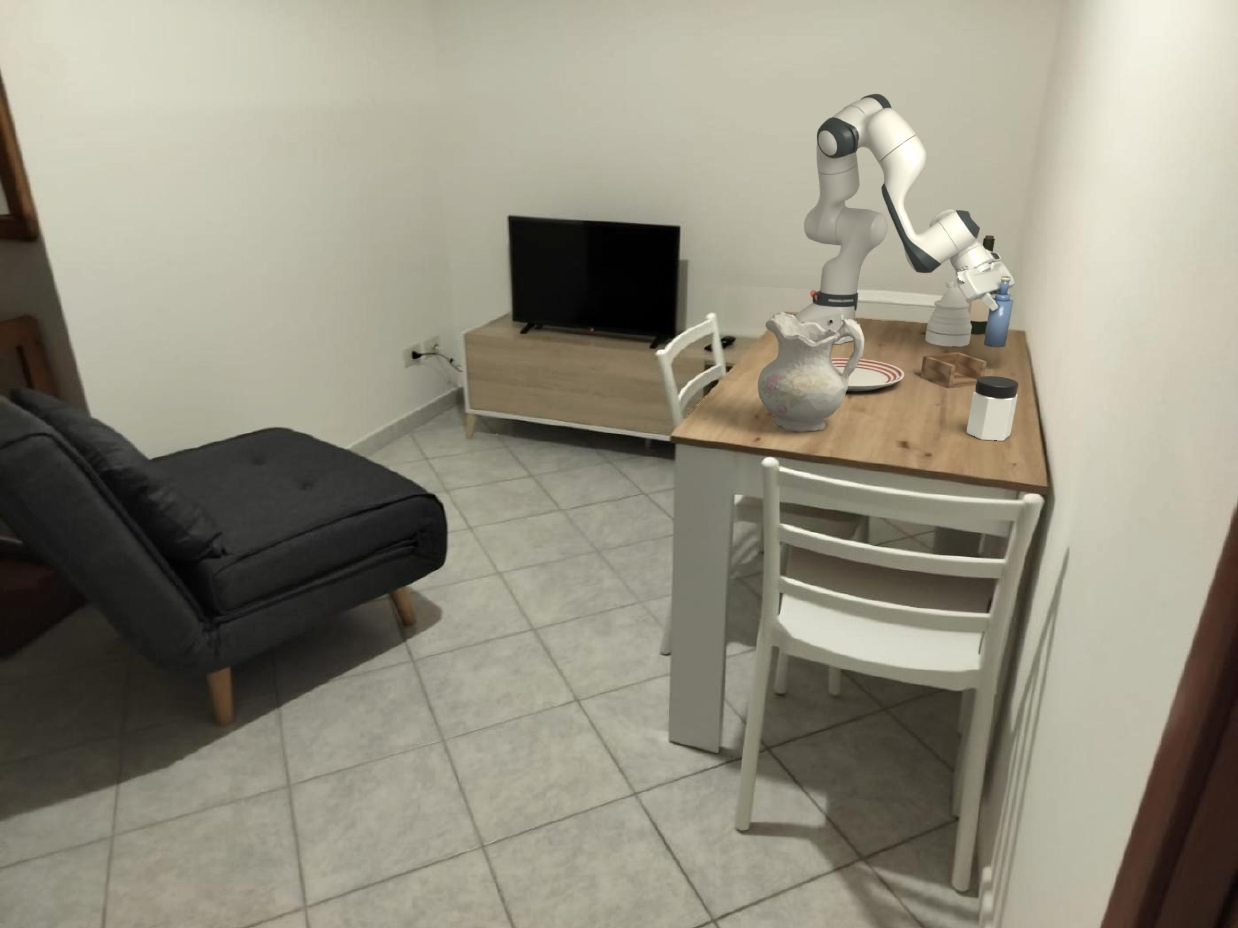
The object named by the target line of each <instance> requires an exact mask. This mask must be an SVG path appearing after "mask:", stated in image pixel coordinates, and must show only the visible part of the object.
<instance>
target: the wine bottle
mask: <svg viewBox="0 0 1238 928" xmlns="http://www.w3.org/2000/svg"><path fill="white" fill-rule="evenodd" d="M994 237H995V235H991V234H990V235H989V234H988V235H985V237H984V238H983V240H982V245H983V246H984V248H985V249H987V250H989V251H991V252H994V246H995V240H996V238H994ZM991 298H994V295H991ZM965 300H966V302H967V303H968V304H969V307H968V312H969V314H970V317H969V318H970V323H971V325H972V329H971V335H978V336H979V335H985V332H986V326H987V320H988V314H989V308H990V307H989V306H988V305H986V304H985V303H984V302H982V300H981V299H977V300H973V301H969V300H968V299H967V298H966V297H965Z"/></svg>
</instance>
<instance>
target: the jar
mask: <svg viewBox="0 0 1238 928" xmlns="http://www.w3.org/2000/svg"><path fill="white" fill-rule="evenodd" d="M1018 390H1019V383H1018V382H1017V380H1015V379H1011V378H1009V377H1004V376H1003V377H1002V376H997V375H996V376H993V375H984V377H980V378H978V379H977V383H976V384H975V390H974V391H973V392H972V396H971V397H972V398H971V403H970V409H969V416H968V421H967V426H966V433H967V435H971V436H972V437H974V436H975V438H977V439H979V440H981V441H994V440H997V441H996V442H1004V441H1005V440H1006V439H1008V438H1009V437H1010V436H1011V432H1012V428H1013V423H1014V422H1013V421H1014V417H1015V412H1016V407H1017V401H1018V396H1019V395H1018Z"/></svg>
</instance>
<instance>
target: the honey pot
mask: <svg viewBox="0 0 1238 928" xmlns="http://www.w3.org/2000/svg"><path fill="white" fill-rule="evenodd" d="M955 283H956V281H953V280H946V281H945V286H946V288H948V289H947V290H946V292H945V293H944V294H943V295H942V297H941V298H940V299H939V300H938V299H937V300H935V301H934V303H933V304H934V306H935V308H934V311H932V314H931V316H930V319H929V320H928V322H927V323H926V325H927V326H926V332H925V337H924V338H925V339H924V341H925V342H926V343H929V344H932V345H935V346H942V347H952V346H957V347H966V346H968V345H969V344H970V340H971V335H972V334H971V329H972V325H971V323H970V318H969V317H970V314H969V312H968V307H969V304H968V303H967V302H966V297H965V296H964V294H963V292H962V291H961V289H960V287H958V286H955ZM965 345H966V346H965Z"/></svg>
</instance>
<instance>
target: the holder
mask: <svg viewBox="0 0 1238 928" xmlns="http://www.w3.org/2000/svg"><path fill="white" fill-rule="evenodd" d="M986 369H987V361H986V360H984V359H983V360H982V359H981V358H976V357H973V356H971V355H967V354H965V353H962V352H958V351H954V352H946V353H945V352H944V353H939V354H938V353H937V354H931V355H924V356H922V363H921V370H920V378H921V379H923V380H926V381H928V382H930V383H933V384H936V385H939V386H941V387H944V388H947V389H954V388H959V387H960V386H961V387H967V385H968V386H972V385H973V386H974V384H975V385H976V383H977V379H978V378H980V377H984V376H986ZM953 387H954V388H953ZM961 387H960V388H961Z"/></svg>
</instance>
